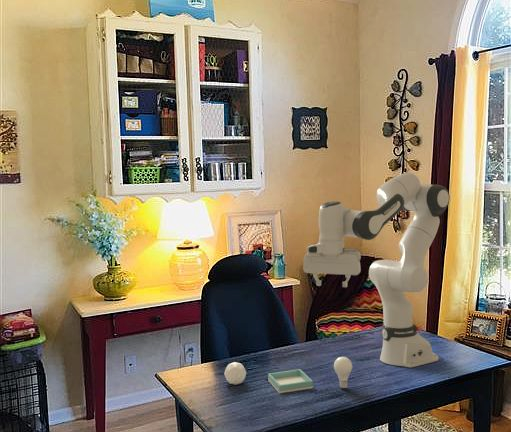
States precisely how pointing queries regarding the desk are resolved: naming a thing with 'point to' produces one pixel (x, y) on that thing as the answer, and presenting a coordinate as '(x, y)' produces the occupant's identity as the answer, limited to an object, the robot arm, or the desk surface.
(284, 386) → the dish
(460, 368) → the desk surface
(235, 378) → the geometric ball
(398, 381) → the desk surface
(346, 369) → the lightbulb
